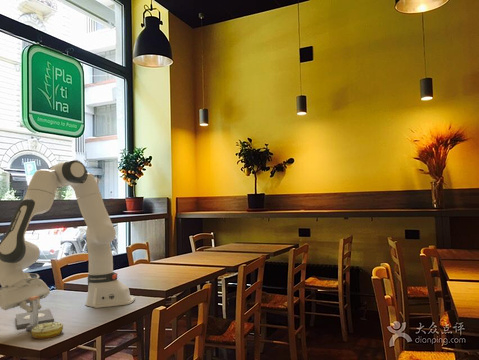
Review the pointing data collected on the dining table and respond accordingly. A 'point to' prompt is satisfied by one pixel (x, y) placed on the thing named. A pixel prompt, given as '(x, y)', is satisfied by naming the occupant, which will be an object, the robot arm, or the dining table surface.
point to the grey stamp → (33, 313)
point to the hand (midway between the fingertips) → (35, 310)
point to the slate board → (43, 317)
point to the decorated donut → (47, 330)
